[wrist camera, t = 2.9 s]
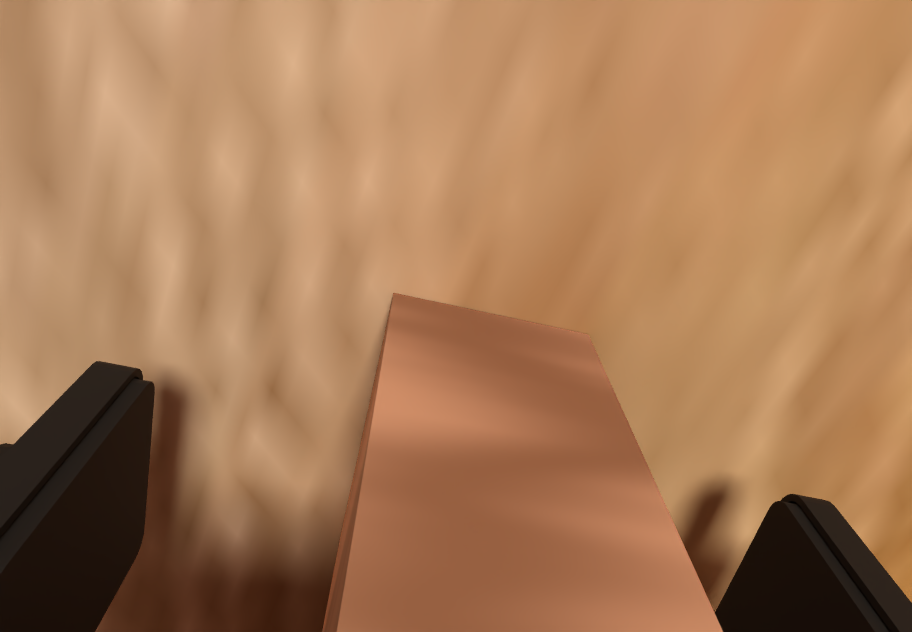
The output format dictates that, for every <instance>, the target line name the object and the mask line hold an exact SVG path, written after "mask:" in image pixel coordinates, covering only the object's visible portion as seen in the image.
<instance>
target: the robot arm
mask: <svg viewBox="0 0 912 632" xmlns="http://www.w3.org/2000/svg"><path fill="white" fill-rule="evenodd" d="M154 393H155V387H154V383H153V382H150V381H145V380H143V375H142V371H141V370H140V369H138V368H132V367H127V366H122V365H117V364H111V363H106V362H101V361H96V362H95V363H93V364H92V365H91V366H90V367H89V368H88V369H87V370H86V371H85V372H84V373H83V374H82V375H81V376H80V377H79V378H78V379H77V380H76V381H75V382H74V383H73V384H72V385H71V386H70V387H69V389H68V390H67V391H66V392H65V393H64V394H63V395H62V396H61V397H60V398H59V399H58V400H57V401H56V402H55V403H54V404H53V405H52V406H51V407H50V408H49V409H48V410H47V411H46V412H45V413H44V414H43V415H42V416H41V417H40V418H39V419H38V420H37V421H36V422H35V423H34V424H33V425H32V426H31V427H30V428H29V429H28V430H27V431H26V432H25V433H24V434H23V435H22V436H21V437H20V438H19V440H18V441H17V442H16V443H15V444H14V445H13V444H7V443H5V444H1V445H0V632H95V630H96V629H97V627H98V625H99V623H100V621H101V620H102V618H103V616H104V614H105V612H106V611H107V609H108V607H109V605H110V603H111V602H112V600H113V598H114V596H115V594H116V593H117V591H118V589H119V587H120V585H121V584H122V582H123V580H124V578H125V576H126V575H127V573H128V571H129V569H130V567H131V566H132V564H133V562H134V560H135V558H136V556H137V554H138V552H139V549H140V546H141V543H142V539H143V534H144V525H145V512H146V499H147V486H148V472H149V459H150V446H151V433H152V419H153V406H154ZM715 615H716V617H717V620H718V622H719V624H720V626H721V628H722V631H723V632H912V603H911V602H910V600H909V599H908V598H907V597H906V595H905V594H904V593H903V592H902V590H901V589H900V588H899V587H898V585H897V584H896V583H895V581H894V580H893V579H892V578H891V576H890V575H889V574H888V573H887V571H886V570H885V569H884V568H883V566H882V565H881V564H880V563H879V561H878V560H877V559H876V558H875V556H874V555H873V554H872V553H871V551H870V550H869V549H868V547H867V546H866V545H865V544H864V542H863V541H862V540H861V539H860V537H859V536H858V535H857V534H856V532H855V531H854V530H853V529H852V527H851V526H850V525H849V524H848V522H847V521H846V520H845V519H844V517H843V516H842V515H841V514H840V512H839V511H838V510H837V508H836V507H835V506H834V505H833V504H832V503H831V502H829V501H826V500H822V499H817V498H811V497H806V496H801V495H796V494H790V495H787V496H785V497H784V498H783V499H782V500H781V501H777V502H775V503H773V504H772V505H771V507H770V508H769V510H768V512H767V514H766V516H765V518H764V520H763V521H762V523H761V525H760V527H759V529H758V531H757V533H756V535H755V537H754V539H753V541H752V543H751V545H750V546H749V548H748V550H747V552H746V554H745V556H744V558H743V560H742V562H741V564H740V566H739V568H738V570H737V572H736V573H735V575H734V577H733V579H732V581H731V583H730V585H729V587H728V589H727V591H726V593H725V595H724V597H723V598H722V600H721V602H720V604H719V606H718V608H717V610H716V612H715Z"/></svg>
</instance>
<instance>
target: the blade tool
mask: <svg viewBox="0 0 912 632" xmlns="http://www.w3.org/2000/svg"><path fill="white" fill-rule="evenodd" d="M322 632H723V631H722V628H721V626H720V624H719V622H718V620H717V617H716V615H715V613H714V611H713V608H712V606H711V604H710V602H709V600H708V597H707V595H706V593H705V591H704V589H703V586H702V584H701V582H700V580H699V578H698V575H697V573H696V571H695V569H694V567H693V564H692V562H691V560H690V558H689V556H688V553H687V551H686V549H685V547H684V545H683V542H682V540H681V538H680V536H679V533H678V531H677V529H676V527H675V525H674V522H673V520H672V518H671V516H670V514H669V511H668V509H667V507H666V505H665V503H664V500H663V498H662V496H661V494H660V492H659V489H658V487H657V485H656V483H655V481H654V478H653V476H652V474H651V472H650V470H649V467H648V465H647V463H646V461H645V459H644V456H643V454H642V452H641V450H640V447H639V445H638V443H637V441H636V439H635V436H634V434H633V432H632V430H631V428H630V425H629V423H628V421H627V419H626V417H625V414H624V412H623V410H622V408H621V406H620V403H619V401H618V399H617V397H616V395H615V392H614V390H613V388H612V386H611V384H610V381H609V379H608V377H607V375H606V372H605V370H604V368H603V366H602V364H601V361H600V359H599V357H598V355H597V353H596V350H595V348H594V346H593V344H592V342H591V339H590V337H589V335H588V334H584V333H580V332H575V331H570V330H565V329H561V328H556V327H551V326H547V325H542V324H537V323H533V322H528V321H523V320H518V319H514V318H509V317H504V316H500V315H495V314H490V313H486V312H481V311H476V310H471V309H467V308H462V307H457V306H453V305H448V304H443V303H438V302H434V301H429V300H424V299H420V298H415V297H410V296H406V295H401V294H396V293H393V298H392V303H391V307H390V312H389V316H388V321H387V325H386V330H385V335H384V339H383V344H382V348H381V353H380V358H379V362H378V367H377V371H376V376H375V380H374V385H373V390H372V394H371V399H370V403H369V408H368V412H367V417H366V422H365V426H364V431H363V435H362V440H361V445H360V449H359V454H358V458H357V463H356V467H355V472H354V477H353V481H352V486H351V490H350V495H349V499H348V504H347V509H346V513H345V518H344V522H343V527H342V531H341V536H340V541H339V546H338V551H337V557H336V562H335V567H334V572H333V578H332V583H331V588H330V593H329V598H328V604H327V609H326V614H325V619H324V625H323V630H322Z"/></svg>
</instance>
